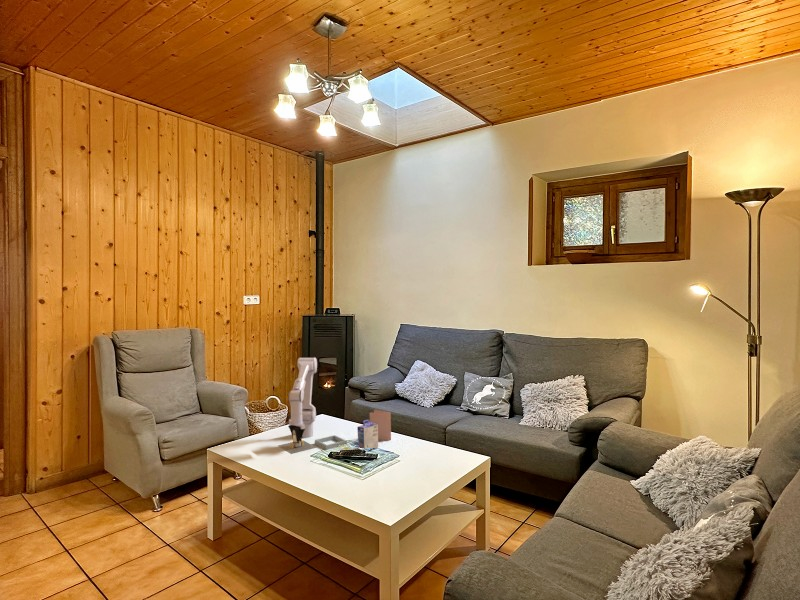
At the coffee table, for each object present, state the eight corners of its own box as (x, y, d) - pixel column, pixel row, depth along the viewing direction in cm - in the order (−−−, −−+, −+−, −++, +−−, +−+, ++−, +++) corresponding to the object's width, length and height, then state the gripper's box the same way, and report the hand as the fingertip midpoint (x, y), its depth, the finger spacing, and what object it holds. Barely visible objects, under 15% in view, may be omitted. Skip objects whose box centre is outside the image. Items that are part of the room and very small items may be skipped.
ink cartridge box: (371, 445, 237) (371, 417, 237) (378, 447, 233) (378, 419, 233) (357, 450, 230) (356, 421, 230) (364, 452, 226) (364, 423, 226)
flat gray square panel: (277, 448, 234) (277, 440, 234) (302, 442, 242) (302, 435, 242) (291, 456, 221) (291, 448, 221) (317, 450, 230) (316, 442, 230)
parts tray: (314, 446, 236) (314, 439, 236) (334, 441, 243) (334, 435, 243) (326, 452, 227) (326, 445, 227) (346, 447, 234) (346, 440, 234)
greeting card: (391, 439, 246) (391, 412, 245) (383, 443, 240) (383, 415, 239) (375, 436, 252) (375, 409, 252) (366, 439, 246) (366, 412, 246)
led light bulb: (291, 445, 232) (291, 430, 232) (298, 443, 235) (298, 428, 235) (295, 447, 229) (295, 431, 229) (302, 445, 231) (302, 430, 231)
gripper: (283, 412, 235) (283, 438, 235) (295, 417, 223) (296, 445, 224) (295, 409, 239) (296, 435, 239) (308, 415, 228) (309, 442, 228)
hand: (297, 440), depth 232 cm, fingers closed on led light bulb, 4 cm apart
